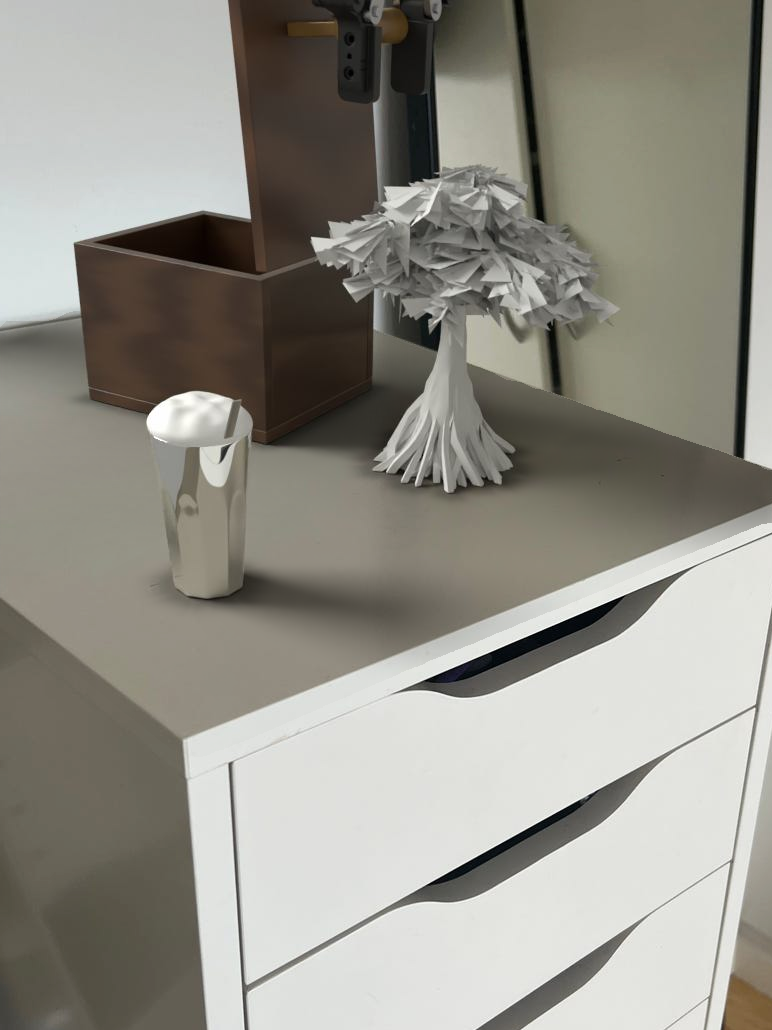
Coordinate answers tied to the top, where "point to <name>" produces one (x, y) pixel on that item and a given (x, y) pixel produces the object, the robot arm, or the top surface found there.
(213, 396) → the milkshake
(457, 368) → the tree
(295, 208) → the lid
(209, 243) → the chest
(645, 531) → the top surface
